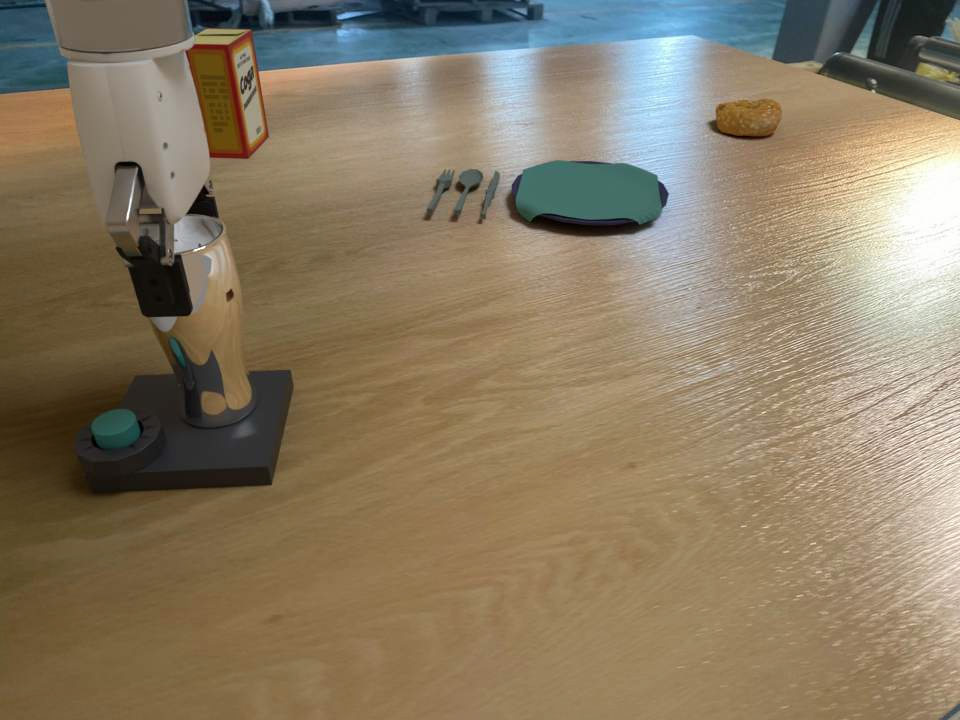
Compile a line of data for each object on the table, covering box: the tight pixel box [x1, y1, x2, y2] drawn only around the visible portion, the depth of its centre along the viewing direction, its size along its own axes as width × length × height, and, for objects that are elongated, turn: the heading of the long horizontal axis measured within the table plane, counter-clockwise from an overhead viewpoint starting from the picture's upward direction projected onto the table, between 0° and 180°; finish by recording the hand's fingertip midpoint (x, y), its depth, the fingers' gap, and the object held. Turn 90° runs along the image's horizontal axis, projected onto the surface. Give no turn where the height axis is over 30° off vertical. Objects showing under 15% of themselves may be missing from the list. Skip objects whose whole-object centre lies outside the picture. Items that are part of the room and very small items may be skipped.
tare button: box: [91, 408, 141, 450], centre depth 55 cm, size 3×3×2 cm
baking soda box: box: [185, 27, 270, 159], centre depth 110 cm, size 10×6×16 cm
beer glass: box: [141, 214, 258, 428], centre depth 57 cm, size 7×7×15 cm
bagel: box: [714, 98, 783, 137], centre depth 120 cm, size 10×11×5 cm
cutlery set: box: [426, 159, 670, 226], centre depth 98 cm, size 20×30×2 cm, turn 82°
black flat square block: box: [72, 369, 295, 494], centre depth 59 cm, size 14×12×4 cm
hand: (187, 278), depth 54 cm, fingers open, 9 cm apart
